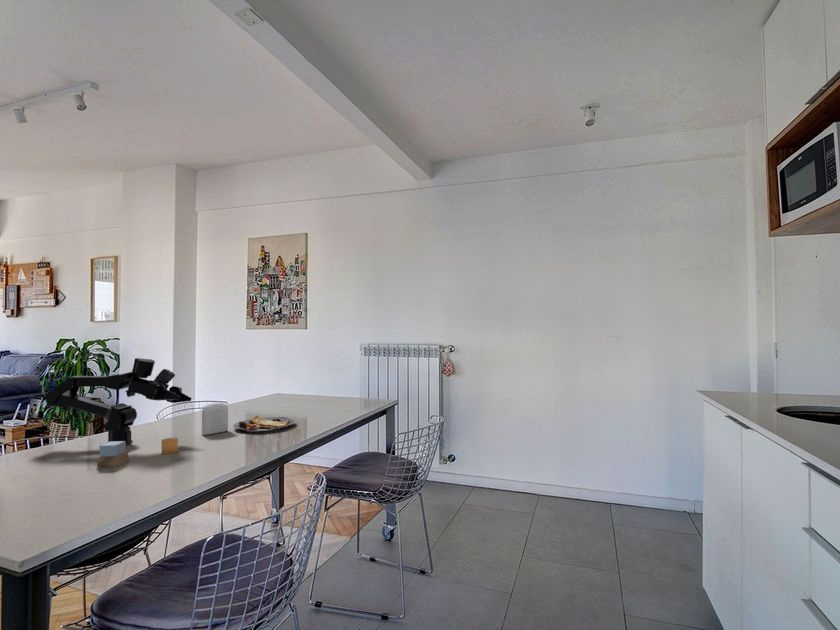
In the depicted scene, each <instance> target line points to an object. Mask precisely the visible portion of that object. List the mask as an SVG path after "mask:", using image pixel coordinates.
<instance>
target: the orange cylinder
mask: <svg viewBox="0 0 840 630" xmlns="http://www.w3.org/2000/svg"><path fill="white" fill-rule="evenodd" d="M178 443H179V439H178V437H168V438H167V437H166V438H164V439H162V440H161V454H162V455H172V453H173V454H176V453H178V452H179V445H178ZM177 451H178V452H177ZM175 452H176V453H175Z"/></svg>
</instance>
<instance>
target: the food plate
mask: <svg viewBox="0 0 840 630" xmlns="http://www.w3.org/2000/svg"><path fill="white" fill-rule="evenodd" d="M295 423H296V420H295V419H292V418H289V417H286V416H285V417H284V416H281V417H280V416H274V417H273V416H271V417H270V416H267V417H265V416H264V417H260V416H259V415H255V416H253V418H250V419H245V420H241V421H238V422H236V423H235V424H234V425H233V428H234V429H239V430H242V431H244V432H247V433H258V432H259V433H262V432H263V431H266V432H273V431H277V430H280V429H283V428H287V427H288V426H291V425H294V424H295ZM260 426H261V427H260ZM278 427H280V428H278ZM257 429H267V430H257ZM263 433H264V432H263Z"/></svg>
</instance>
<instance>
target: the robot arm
mask: <svg viewBox="0 0 840 630" xmlns="http://www.w3.org/2000/svg"><path fill="white" fill-rule="evenodd" d="M155 362H156V361H155V360H154V359H152V358H151V359H148V358H140V357H135V358H134V361H133V366H132V371H130V372H129V371H128V372H124V373H120V374H112V375H74V376H72V375H71V376H69V377H67V378H66V379H65V380H64V381H63V382H61V383H60V384H58V385H57V386H55V387H54V388H53V389H51V390H50V391H48V392H47V393H46V395H45V402H46V405H47V406H51V407H56V408H57V407H58V408H72V409H76V410H80V411H82V412H86V413H89V414H92V415H97V416H100V417H103V418H105V419H106V422H105V423H104V424H103V428H104V430H105V431H107V433H108V434H107V441H108V442H110V441H126V445H128V444H130V443H132V442H133V440H132V430H131V426H134V422H135V420H136V419H137V417H138V413H137V411H136V408H134V407H133V405H128V404H126V403H123V402H121V403H118V404H113V405H110V404H108V403H104V402H101V401H96V400H94V399H90V398H87V397H83V396H80V395H79V393H78V392H79V391H80V388H81V387H86V388H87V387H101V388H102V387H104V388H106V389H110V390H115V391H119V390H123V389H127V390H125V393H126V397H127V398H130V397H134V396H136V394H138V395H142V396H143V397H145V399H147V400H150V401H160V402H161V401H166V402H168V403H173V404H179V403H185V402H191V401H192V397H191V396H189V395H187V394H185V393H184V392H183V388H182V387H179V386H175V385H172V386H170V382H171V381H172V380H173V378H174V377H176V374H175V373H174V372H173V371H171V370H169V369H166V368H163V369H162V370H160V372H159V373H158V375H156V377H155V378H154V380H151V379H150V380H148V377H151V376H152V375H153V374H152V373H153V371H154V366H155ZM174 379H175V378H174ZM169 386H170V387H169ZM168 388H169V389H168ZM108 442H107V443H108Z"/></svg>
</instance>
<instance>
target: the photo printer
mask: <svg viewBox="0 0 840 630" xmlns="http://www.w3.org/2000/svg"><path fill="white" fill-rule="evenodd" d="M225 431H227V432H228V431H229V406H228V404H227V403H223V402H213V403H208V404H206V405H203V407H202V409H201V435H202V436H209V435H214V434H220V432H221V433H226V432H225Z"/></svg>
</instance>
